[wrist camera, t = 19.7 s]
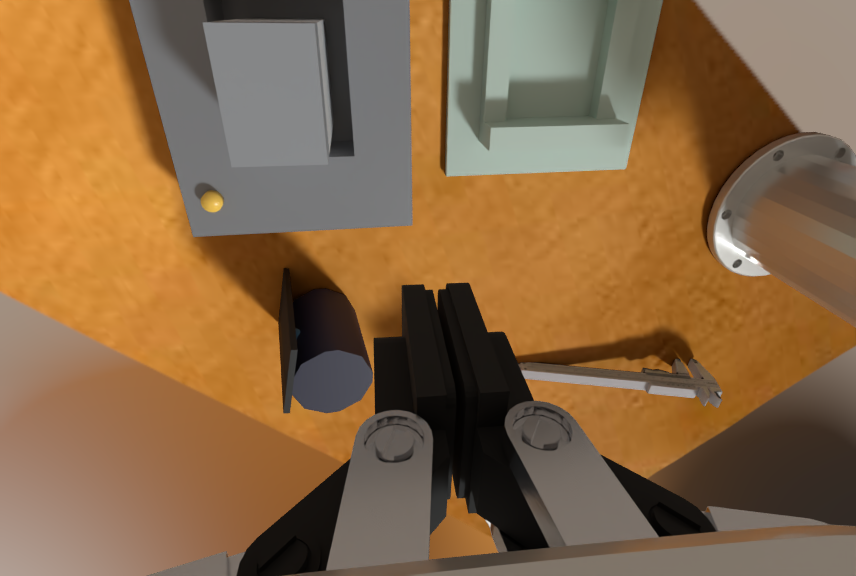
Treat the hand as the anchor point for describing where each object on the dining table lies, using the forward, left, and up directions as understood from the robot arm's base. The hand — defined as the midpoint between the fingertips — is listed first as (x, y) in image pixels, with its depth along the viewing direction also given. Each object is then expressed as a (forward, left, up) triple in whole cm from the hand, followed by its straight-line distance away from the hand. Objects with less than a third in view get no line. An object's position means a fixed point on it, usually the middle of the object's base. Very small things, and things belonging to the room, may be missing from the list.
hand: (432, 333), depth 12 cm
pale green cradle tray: (-12, -5, -24) cm, 27 cm away
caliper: (-21, +24, -25) cm, 40 cm away
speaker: (+5, +14, -25) cm, 29 cm away
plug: (+5, -4, -24) cm, 25 cm away
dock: (+5, -4, -24) cm, 25 cm away
